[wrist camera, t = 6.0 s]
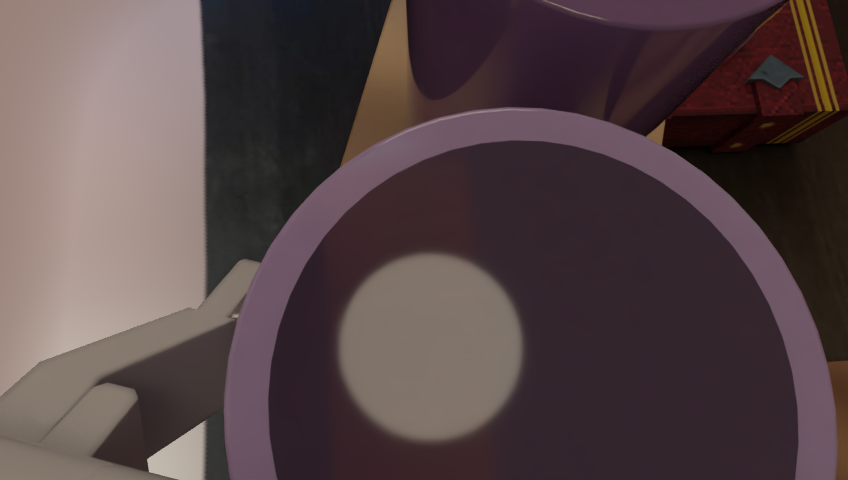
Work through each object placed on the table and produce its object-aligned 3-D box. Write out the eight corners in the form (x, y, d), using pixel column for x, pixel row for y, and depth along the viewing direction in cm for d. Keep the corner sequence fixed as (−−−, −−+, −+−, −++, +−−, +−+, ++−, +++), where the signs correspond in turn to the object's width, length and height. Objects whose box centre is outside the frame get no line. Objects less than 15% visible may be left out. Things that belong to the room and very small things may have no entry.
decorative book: (797, 150, 29) (874, 108, 24) (519, 161, 29) (542, 119, 24) (756, -17, 32) (818, -85, 27) (502, -11, 31) (519, -80, 26)
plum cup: (528, 265, 15) (699, 123, 6) (362, 127, 16) (306, -168, 7) (655, 113, 16) (947, -182, 7) (496, -7, 17) (589, -396, 8)
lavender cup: (467, 561, 13) (592, 964, 4) (286, 382, 14) (81, 408, 5) (620, 364, 14) (958, 362, 6) (446, 212, 15) (498, 4, 6)
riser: (508, 488, 25) (597, 599, 13) (316, 438, 25) (235, 503, 13) (568, 169, 29) (678, 34, 17) (403, 128, 29) (400, -30, 17)
